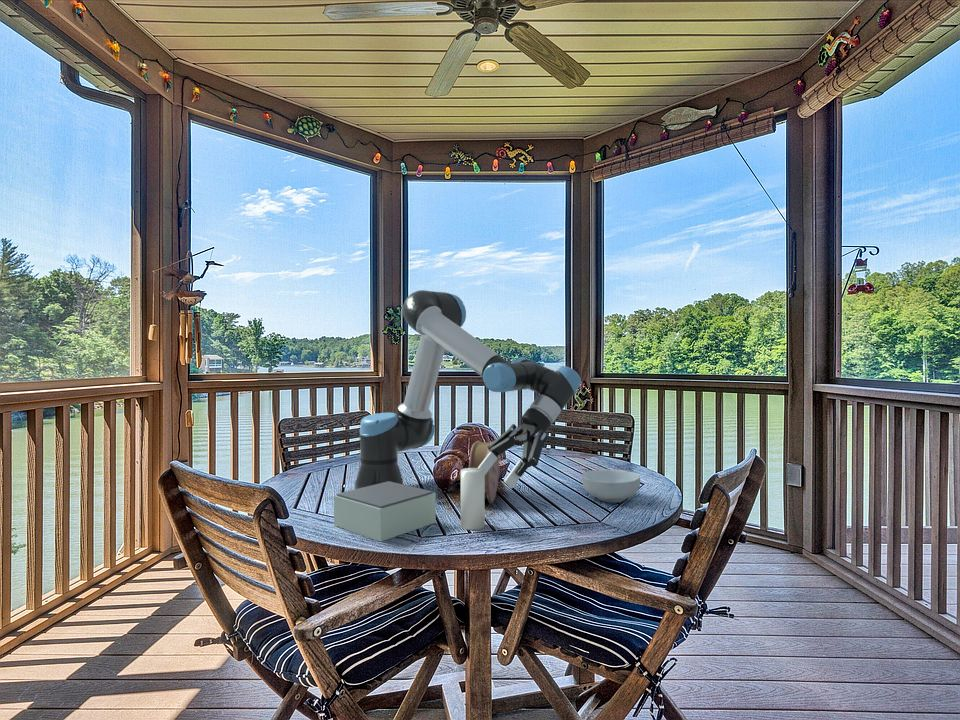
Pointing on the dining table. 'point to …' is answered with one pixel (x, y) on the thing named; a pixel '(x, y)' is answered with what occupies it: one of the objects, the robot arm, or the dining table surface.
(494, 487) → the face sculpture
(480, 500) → the post
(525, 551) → the dining table surface
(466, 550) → the dining table surface
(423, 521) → the block
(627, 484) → the cereal bowl
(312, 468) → the dining table surface
